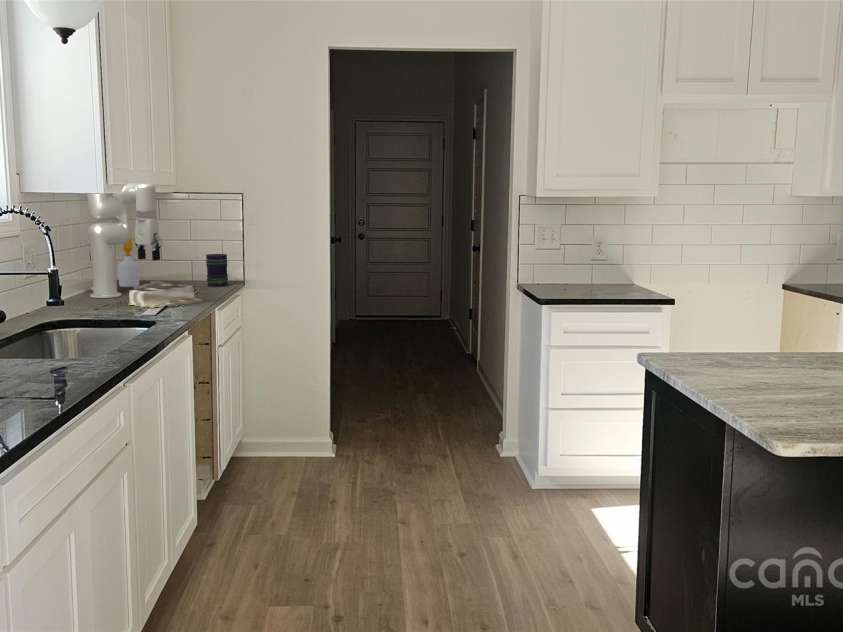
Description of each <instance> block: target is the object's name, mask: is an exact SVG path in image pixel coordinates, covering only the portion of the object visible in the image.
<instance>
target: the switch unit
mask: <svg viewBox="0 0 843 632" xmlns="http://www.w3.org/2000/svg"><path fill="white" fill-rule="evenodd" d="M128 292H129V294H128V295H129V302H128V306H129V305H135V306H141V307H140V308H142V307H146V308H145V309H148V308H147V307H152V306H154V305H158V304H157V303H158V302H163V301H169V302H168V303H167V304H166V305H167V306H168V307H173V306H183V304H184V305H189V304H197V303H198V302H199V303H203V302H204V299H202V298H201V299H200V298H195V291H194V286H191V285H183V284H178V285H173V288H170V289H162V288H159V287H157V286H156V287H150V288H143V289H133V290H128ZM135 306H134V307H135Z"/></svg>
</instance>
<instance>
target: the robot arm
mask: <svg viewBox="0 0 843 632" xmlns="http://www.w3.org/2000/svg"><path fill="white" fill-rule="evenodd" d="M128 183H129V182H128ZM86 199H87V206H88V212H89V216H90V218H91V219H93V220H96V221H97V220H98V221H100V220H101V221H104V220H106V221H107V220H108V221H110V220H114V221H115V222H96V223H93V224H91V225H90V226H89V227H88V230H87V236H88V241H89V244H90V245H89V246H90V253H91V263H92V265H91V266H92V281H93V286H92V287H91V288H90V289H91V291H93V293H90V294H89V296H90V298H93V299H107V298H108V299H109V298H117V297H121V296H122V292H118V282H117V278H118V277H117V263H116V253H115V252H114V251H113V249H112V248H111V247H110V246H117V245H123V244H126V243H128V242H129V241H130V238H131V236H132V231H131V224H130V216H129V208H128V207H129V206H128V204H130V203H131V204H133V203H135V207H136V220H135V228H134V229H135V230H134V238H133V241H134V244H135V247H136V250H137V259H138V260H146V258H147V256H146V255H147V254H146V248H145V247H146V246H151V248H152V250H151V257H152V258H151V259H152V261H160V260H161V249H162V248H161V247H162V244H163V238H162V237H161V236H160V229H159V223H158V212H157V195H156V185H154V184H152V183H134V182H133V183H132V182H131V183H129V184H127V185H125V186H124V187H123V189H122V193H113V194H111V197H110V196H109V193H108V194H87V193H86ZM127 203H128V204H127Z"/></svg>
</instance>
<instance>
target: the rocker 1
mask: <svg viewBox="0 0 843 632" xmlns="http://www.w3.org/2000/svg"><path fill="white" fill-rule="evenodd" d="M132 288H133V290H139V289H148V288H157V286H156V284H155V283H153V284H150V283H145V284H141V285H140V284H139V286H133V287H132Z"/></svg>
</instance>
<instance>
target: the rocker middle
mask: <svg viewBox="0 0 843 632" xmlns="http://www.w3.org/2000/svg"><path fill="white" fill-rule="evenodd" d="M153 283H155V284H156V288H157V287H159V288H162V289H170V288H173V286H174V285H172V284H168V283H169V282H166V281H163V280H159V279H158V280H150V283H149V284H153Z"/></svg>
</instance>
